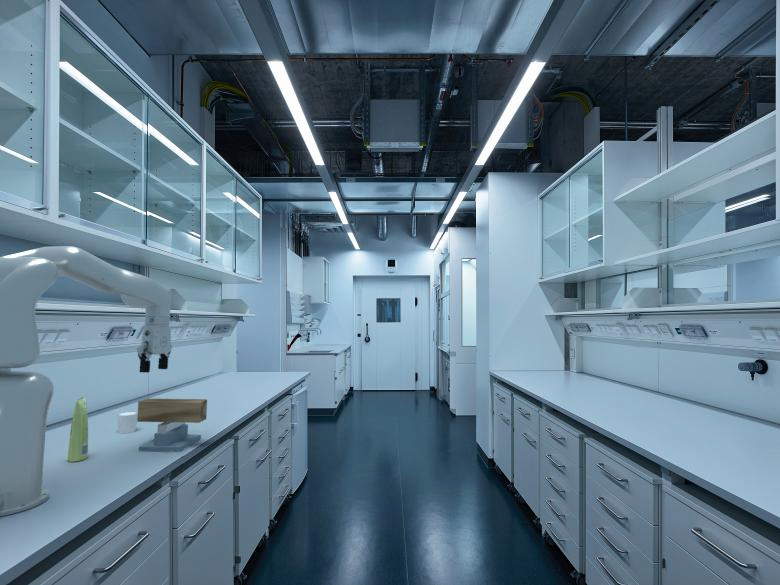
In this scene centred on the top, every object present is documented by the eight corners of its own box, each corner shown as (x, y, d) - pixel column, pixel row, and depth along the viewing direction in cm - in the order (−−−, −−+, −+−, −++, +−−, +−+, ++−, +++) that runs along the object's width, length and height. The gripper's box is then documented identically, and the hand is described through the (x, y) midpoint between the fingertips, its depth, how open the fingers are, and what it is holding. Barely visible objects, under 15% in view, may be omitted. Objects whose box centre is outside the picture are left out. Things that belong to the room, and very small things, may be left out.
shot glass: (111, 433, 148) (112, 415, 148) (127, 428, 154) (128, 410, 155) (126, 434, 146) (127, 416, 147) (141, 429, 153) (142, 412, 153)
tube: (62, 460, 120) (66, 397, 121) (81, 455, 125) (85, 394, 126) (73, 463, 118) (77, 399, 119) (91, 458, 122) (95, 396, 124)
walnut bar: (199, 422, 134) (200, 402, 134) (137, 421, 134) (138, 401, 135) (206, 418, 139) (207, 399, 139) (146, 417, 139) (147, 398, 140)
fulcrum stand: (179, 451, 129) (180, 426, 129) (138, 451, 129) (139, 425, 130) (200, 438, 143) (201, 415, 143) (163, 438, 143) (164, 414, 144)
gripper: (151, 322, 127) (147, 374, 126) (181, 322, 145) (178, 368, 143) (129, 321, 128) (125, 373, 126) (162, 322, 145) (159, 367, 144)
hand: (154, 370), depth 135 cm, fingers open, 9 cm apart
